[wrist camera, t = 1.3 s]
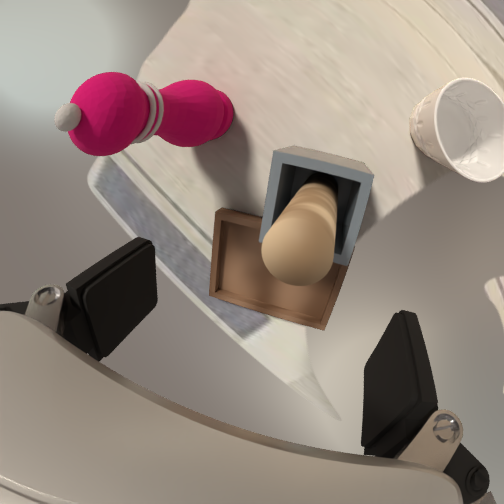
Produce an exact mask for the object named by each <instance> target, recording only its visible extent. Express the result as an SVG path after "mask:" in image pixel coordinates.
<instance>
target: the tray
mask: <svg viewBox="0 0 504 504" xmlns="http://www.w3.org/2000/svg"><path fill="white" fill-rule="evenodd" d="M262 218H263V217H259V216H255V215H251V214H247V213H243V212H238V211H234V210H230V209H226V208H220V209H219V210H217V211H216V212H215V222H214V234H213V246H212V259H211V273H210V289H209V296H212V297H215V298H218V299H221V300H224V301H227V302H230V303H233V304H236V305H239V306H242V307H246V308H249V309H252V310H255V311H258V312H262V313H265V314H268V315H271V316H275V317H278V318H281V319H285V320H288V321H292V322H295V323H299V324H302V325H306V326H310V327H313V328H317V329H320V330H325V327H326V325H327V323H328V320H329V317H330V315H331V312H332V310H333V307H334V305H335V302H336V300H337V297H338V294H339V292H340V289H341V286H342V283H343V281H344V278H345V275H346V272H347V269H348V266H349V264H348V266H345V265H341V264H338V263H334V262H333V263H332V266H331V268H330V270H329V272H328V273H327V274H326V276H325V277H324V278H322V279H321V280H320V281H318V282H316V283H314V284H311V285H307V286H293V285H289V284H286V283H284V282H282V281H280V280H278V279H277V278H276V277H274V276H273V275H272V274H271V273H270V272H269V270H268V269H267V267H266V266H265V264H264V261H263V258H262V250H261V249H262V243H261V242H259V237H260V231H261V224H262ZM354 248H355V246H354ZM353 251H354V249H353ZM352 255H353V252H352ZM352 255H351V258H352ZM351 258H350V260H351ZM349 263H350V261H349Z"/></svg>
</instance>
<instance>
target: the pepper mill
mask: <svg viewBox="0 0 504 504" xmlns="http://www.w3.org/2000/svg"><path fill="white" fill-rule="evenodd" d="M232 120H233V106H232V103H231V101H230V99H229V98H228V97H227V96H226V95H225V94H224V93H223V92H221V91H219V90H216V89H215V88H214V87H212V86H211V85H209V84H208V83H206V82H203V81H198V80H183V81H179V82H175V83H173V84H171V85H169V86H167V87H165V88H163V89H159V90H158V89H157V88H156V87H155V86H154V85H152V84H151V83H148V82H140V81H135V80H134V79H133V78H131V77H130V76H128V75H126V74H122V73H118V72H106V73H102V74H98V75H95V76H93V77H91V78H90V79H88V80H87V81H85V82H84V83H83V84H82V85H81V86H80V87H79V88H78V89H77V90H76V92H75V94H74V95H73V97H72V99H71V101H70V103H68V104H64V105H63V106H62V107H60V108H59V109H58V111H57V112H56V115H55V124H56V127H57V128H58V129H59V130H61V131H68V133H69V135H70V138H71V140H72V142H73V143H74V144H75V145H76V146H77V147H78V148H79V149H80V150H82V151H83V152H85V153H87V154H90V155H94V156H107V155H112V154H115V153H118V152H120V151H122V150H123V149H125V148H126V147H128V146H129V145H130V144H134V143H141V142H144V141H146V140H148V139H149V138H151V137H152V136H153V135H158V136H160V137H161V138H162V139H164V140H165V141H167V142H169V143H171V144H173V145H176V146H180V147H194V146H199V145H201V144H204V143H206V142H207V141H209V140H213V139H216V138H218V137H220V136H222V135H223V134H224V133H225V132H226V131H227V130H228V128H229V127H230V125H231V123H232Z"/></svg>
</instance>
